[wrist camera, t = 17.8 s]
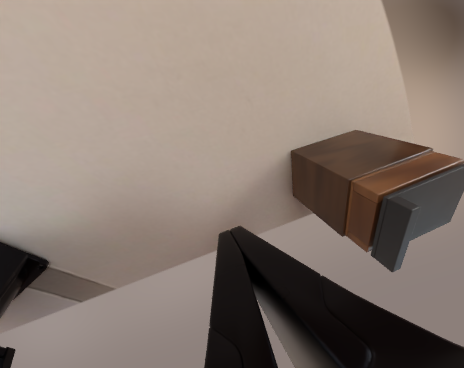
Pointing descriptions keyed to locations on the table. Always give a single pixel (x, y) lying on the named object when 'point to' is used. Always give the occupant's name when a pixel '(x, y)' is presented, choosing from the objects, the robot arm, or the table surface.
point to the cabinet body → (342, 170)
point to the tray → (388, 192)
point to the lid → (415, 214)
